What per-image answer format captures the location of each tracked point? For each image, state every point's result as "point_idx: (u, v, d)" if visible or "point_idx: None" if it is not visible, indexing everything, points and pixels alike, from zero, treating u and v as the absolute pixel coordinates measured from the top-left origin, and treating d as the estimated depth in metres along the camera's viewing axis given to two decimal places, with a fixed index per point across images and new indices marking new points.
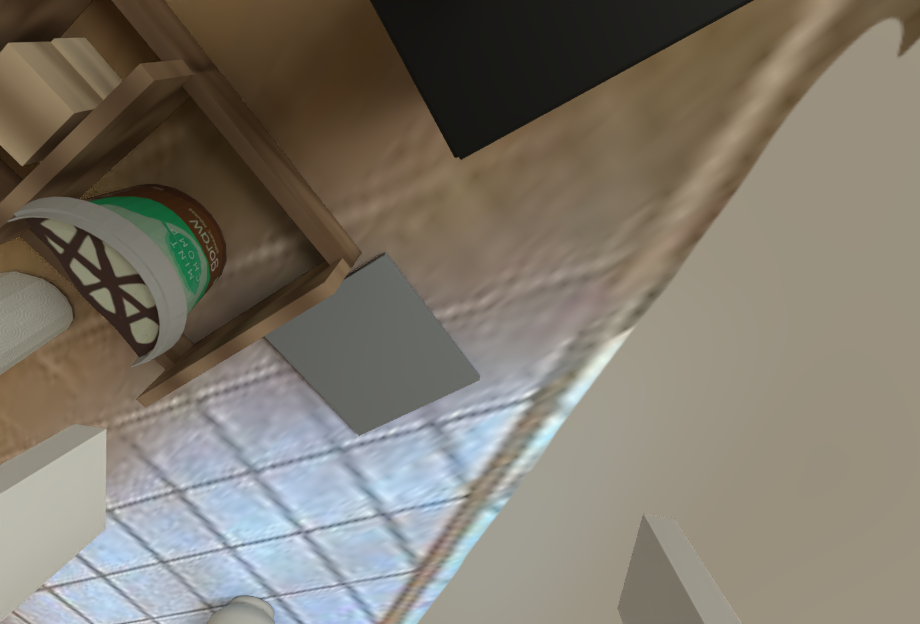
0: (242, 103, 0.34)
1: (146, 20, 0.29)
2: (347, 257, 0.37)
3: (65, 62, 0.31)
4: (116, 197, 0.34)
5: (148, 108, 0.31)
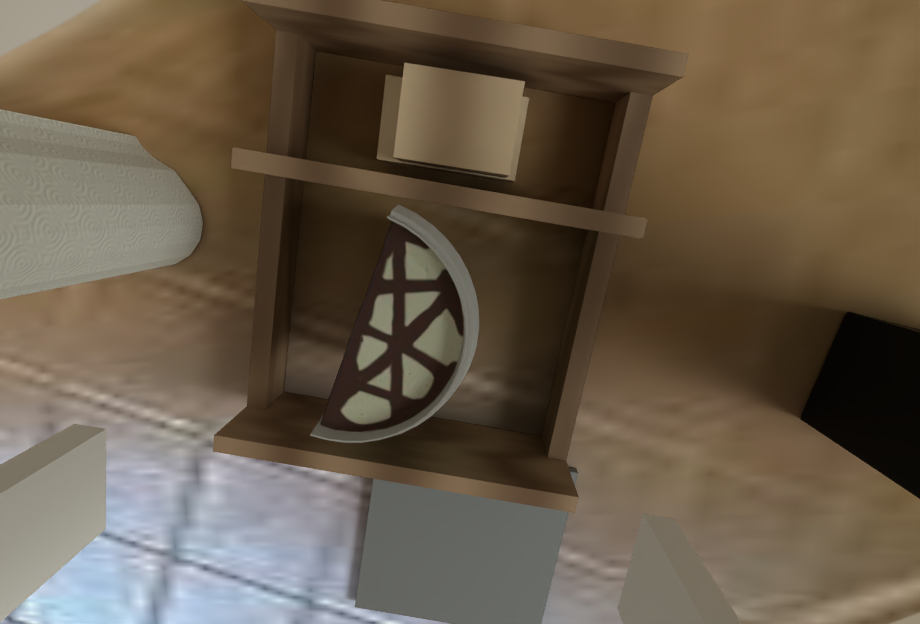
0: None
1: (631, 168, 0.27)
2: None
3: None
4: None
5: None
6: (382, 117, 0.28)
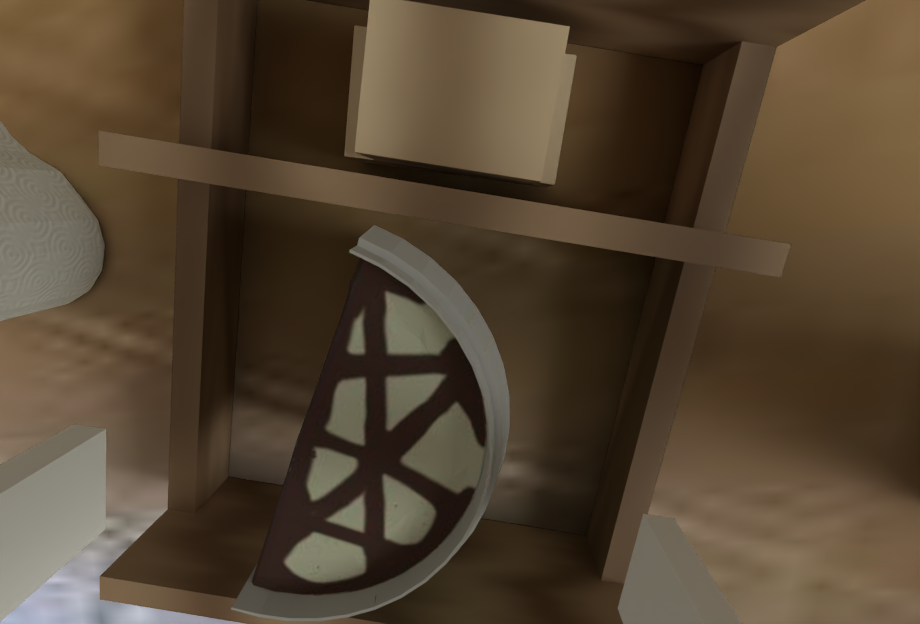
0: None
1: (738, 161, 0.18)
2: None
3: None
4: None
5: None
6: (351, 92, 0.18)
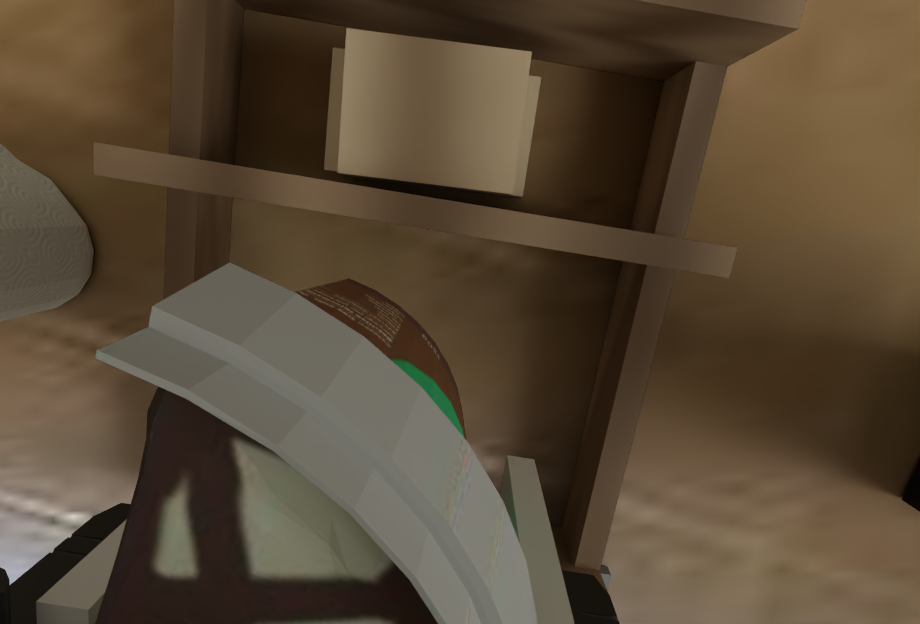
0: None
1: (694, 171, 0.19)
2: None
3: None
4: (415, 371, 0.10)
5: None
6: (330, 109, 0.19)
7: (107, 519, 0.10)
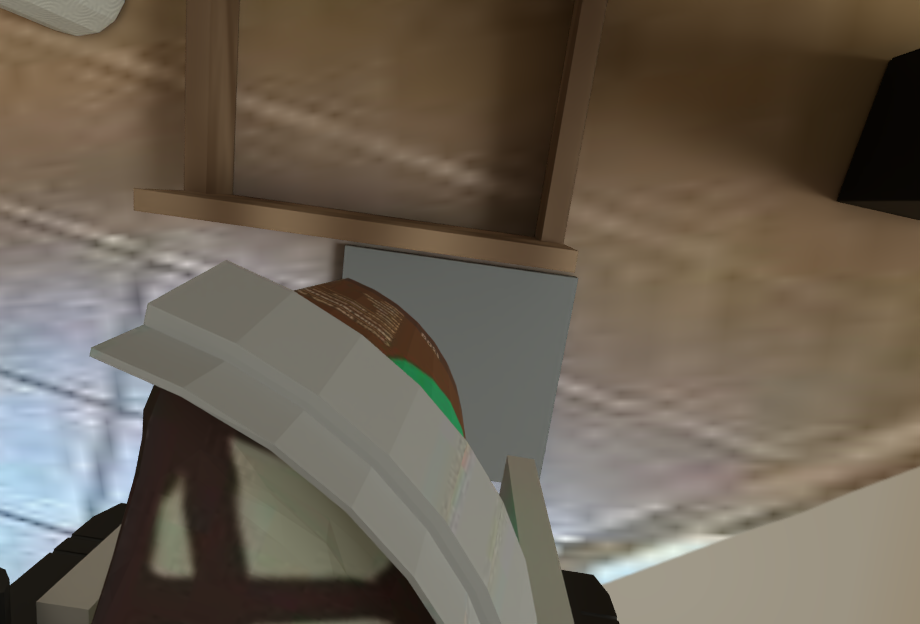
0: None
1: None
2: None
3: None
4: (414, 370, 0.10)
5: None
6: None
7: (107, 519, 0.10)
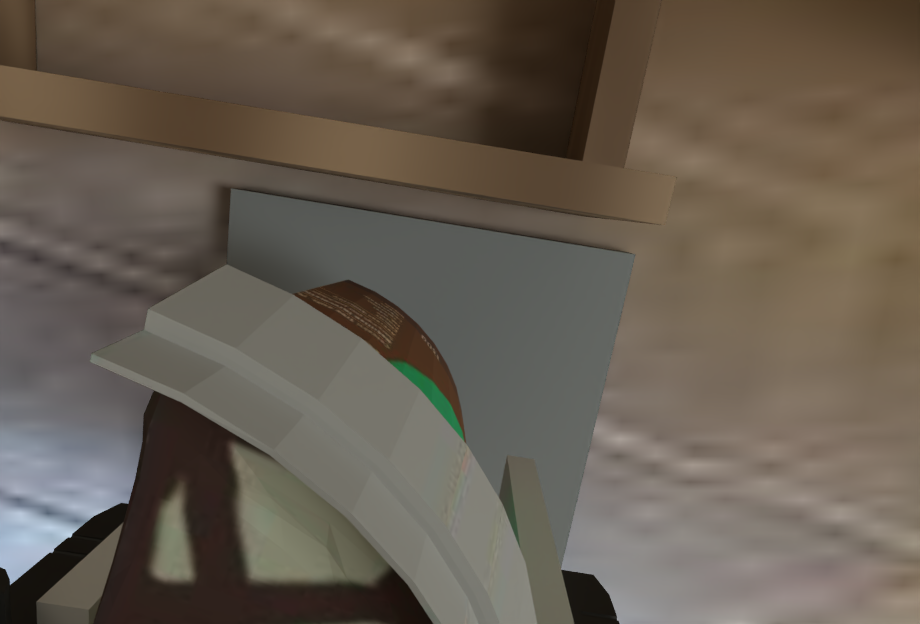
0: None
1: None
2: None
3: None
4: (414, 372, 0.10)
5: None
6: None
7: (108, 519, 0.10)
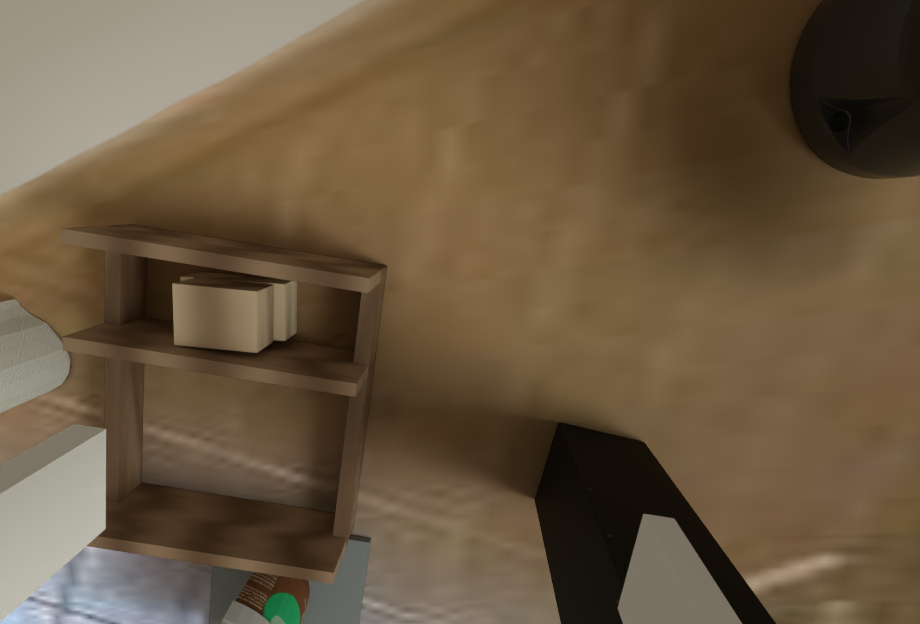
0: (370, 393, 0.42)
1: (369, 332, 0.38)
2: (348, 536, 0.42)
3: (272, 303, 0.37)
4: (278, 595, 0.40)
5: None
6: None
7: None
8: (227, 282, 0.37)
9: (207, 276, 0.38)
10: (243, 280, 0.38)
